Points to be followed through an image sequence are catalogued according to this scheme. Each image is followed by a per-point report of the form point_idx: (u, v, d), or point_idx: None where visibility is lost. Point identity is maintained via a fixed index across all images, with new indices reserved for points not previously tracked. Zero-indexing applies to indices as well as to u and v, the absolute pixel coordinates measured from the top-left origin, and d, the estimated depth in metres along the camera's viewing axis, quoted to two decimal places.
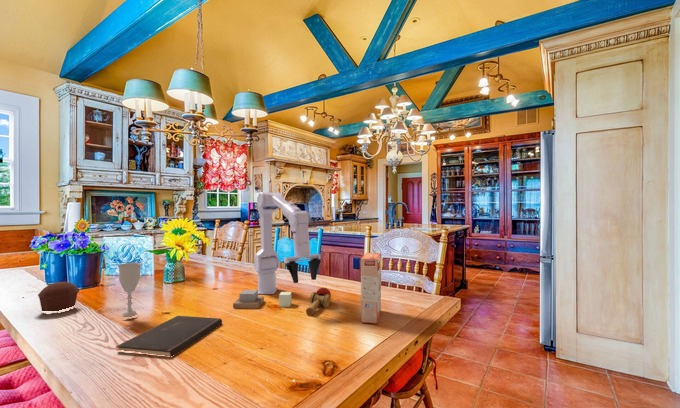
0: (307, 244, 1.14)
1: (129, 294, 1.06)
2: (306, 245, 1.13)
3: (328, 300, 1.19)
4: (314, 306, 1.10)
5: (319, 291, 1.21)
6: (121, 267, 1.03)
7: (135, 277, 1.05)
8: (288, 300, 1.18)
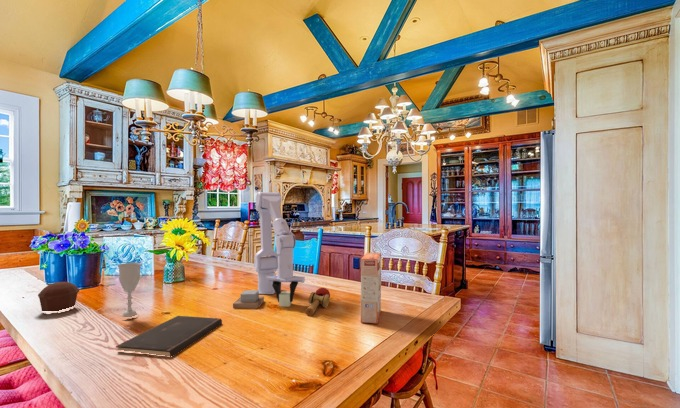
0: (285, 268, 1.17)
1: (129, 294, 1.06)
2: (284, 269, 1.17)
3: (327, 300, 1.19)
4: (314, 306, 1.10)
5: (318, 291, 1.20)
6: (121, 267, 1.03)
7: (135, 277, 1.05)
8: (288, 300, 1.18)
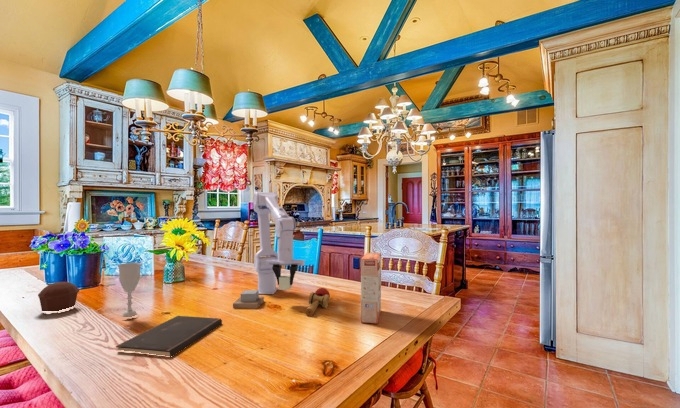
0: (285, 251, 1.17)
1: (129, 294, 1.06)
2: (284, 252, 1.17)
3: (327, 300, 1.18)
4: (313, 306, 1.09)
5: (318, 291, 1.20)
6: (121, 267, 1.03)
7: (135, 277, 1.05)
8: (288, 283, 1.18)
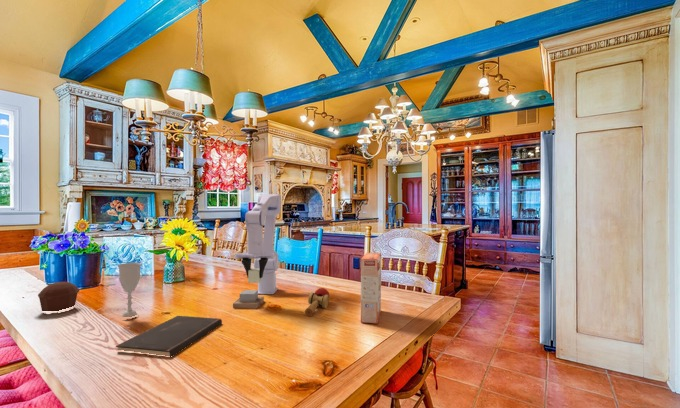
0: (254, 244, 1.18)
1: (129, 294, 1.06)
2: (253, 245, 1.17)
3: (327, 300, 1.18)
4: (313, 307, 1.09)
5: (317, 291, 1.20)
6: (121, 267, 1.03)
7: (135, 277, 1.05)
8: (257, 276, 1.18)
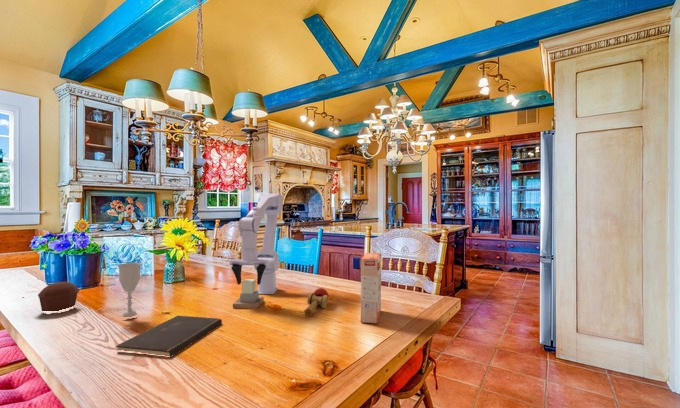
0: (248, 251, 1.18)
1: (129, 294, 1.06)
2: (247, 251, 1.17)
3: (326, 301, 1.18)
4: (312, 307, 1.09)
5: (316, 292, 1.20)
6: (121, 267, 1.03)
7: (135, 277, 1.05)
8: (251, 287, 1.18)
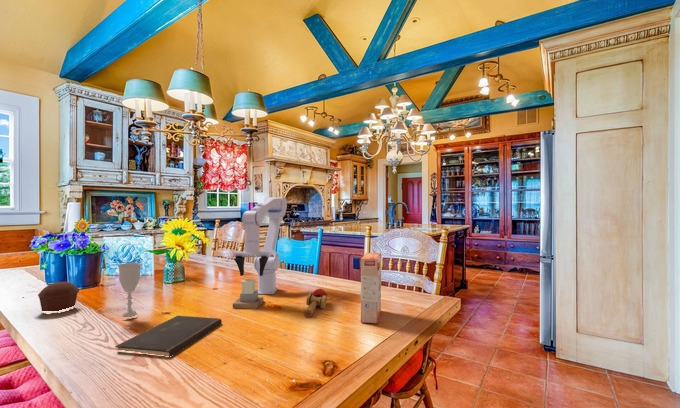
0: (251, 243, 1.21)
1: (129, 294, 1.06)
2: (250, 243, 1.21)
3: (325, 301, 1.18)
4: (312, 308, 1.08)
5: (315, 292, 1.19)
6: (121, 267, 1.03)
7: (135, 277, 1.05)
8: (251, 287, 1.18)
